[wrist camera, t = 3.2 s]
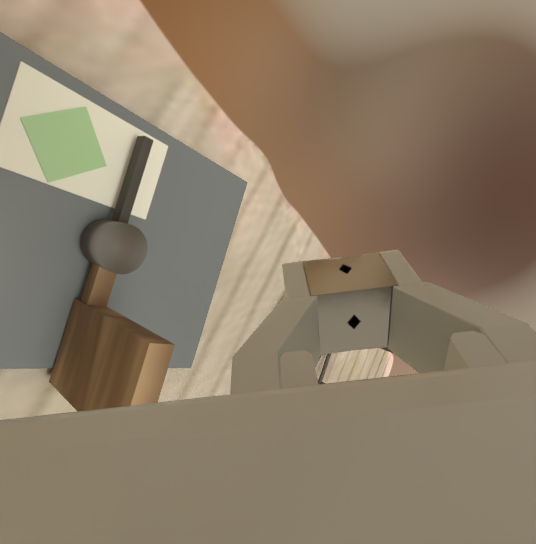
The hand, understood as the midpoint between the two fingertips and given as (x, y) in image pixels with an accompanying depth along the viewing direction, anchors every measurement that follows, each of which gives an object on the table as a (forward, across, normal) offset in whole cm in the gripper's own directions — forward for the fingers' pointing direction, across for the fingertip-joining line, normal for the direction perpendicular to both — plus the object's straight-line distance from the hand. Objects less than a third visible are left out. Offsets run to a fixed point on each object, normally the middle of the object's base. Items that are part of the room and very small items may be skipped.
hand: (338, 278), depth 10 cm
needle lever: (+19, +16, +8) cm, 26 cm away
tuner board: (+20, +16, +7) cm, 27 cm away
